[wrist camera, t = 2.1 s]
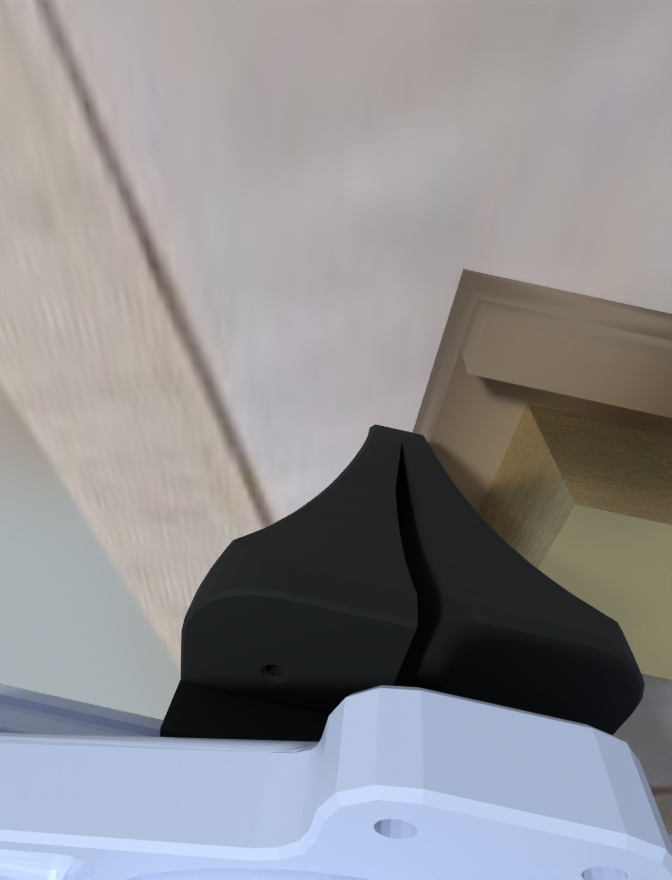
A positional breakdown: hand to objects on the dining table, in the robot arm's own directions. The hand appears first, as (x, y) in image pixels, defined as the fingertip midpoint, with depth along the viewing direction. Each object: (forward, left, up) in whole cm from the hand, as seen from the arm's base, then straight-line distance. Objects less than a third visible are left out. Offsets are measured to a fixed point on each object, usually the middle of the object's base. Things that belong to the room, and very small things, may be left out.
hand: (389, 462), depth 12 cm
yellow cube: (-5, 0, -1) cm, 5 cm away
